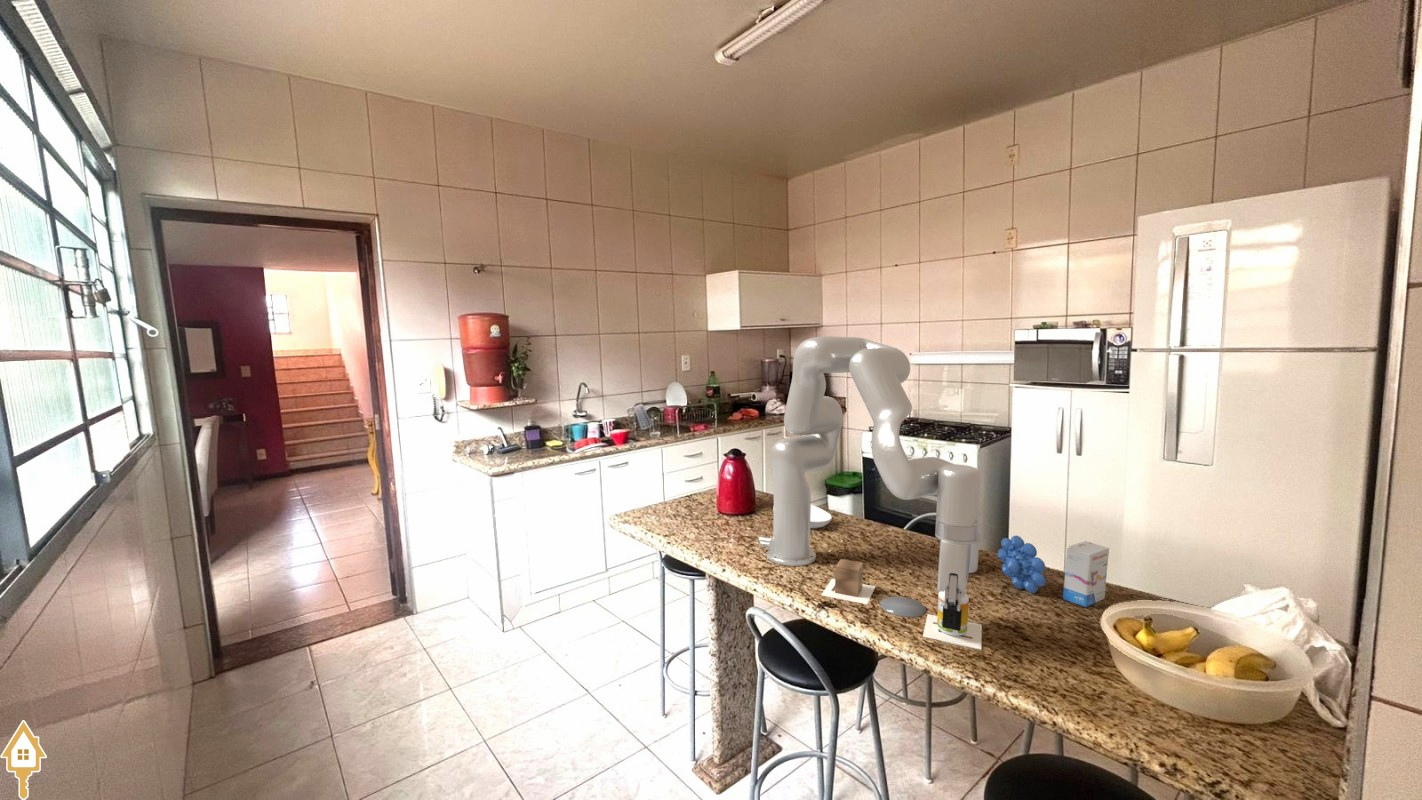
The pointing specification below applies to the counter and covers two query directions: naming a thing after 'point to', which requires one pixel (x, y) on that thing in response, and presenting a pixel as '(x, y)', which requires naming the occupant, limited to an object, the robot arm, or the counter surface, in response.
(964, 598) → the supplement bottle
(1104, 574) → the ink box
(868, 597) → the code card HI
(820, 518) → the spoon rest
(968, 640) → the card
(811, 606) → the counter surface
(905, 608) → the gray round coaster
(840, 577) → the walnut block
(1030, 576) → the grapes
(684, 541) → the counter surface
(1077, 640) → the counter surface
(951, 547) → the robot arm
